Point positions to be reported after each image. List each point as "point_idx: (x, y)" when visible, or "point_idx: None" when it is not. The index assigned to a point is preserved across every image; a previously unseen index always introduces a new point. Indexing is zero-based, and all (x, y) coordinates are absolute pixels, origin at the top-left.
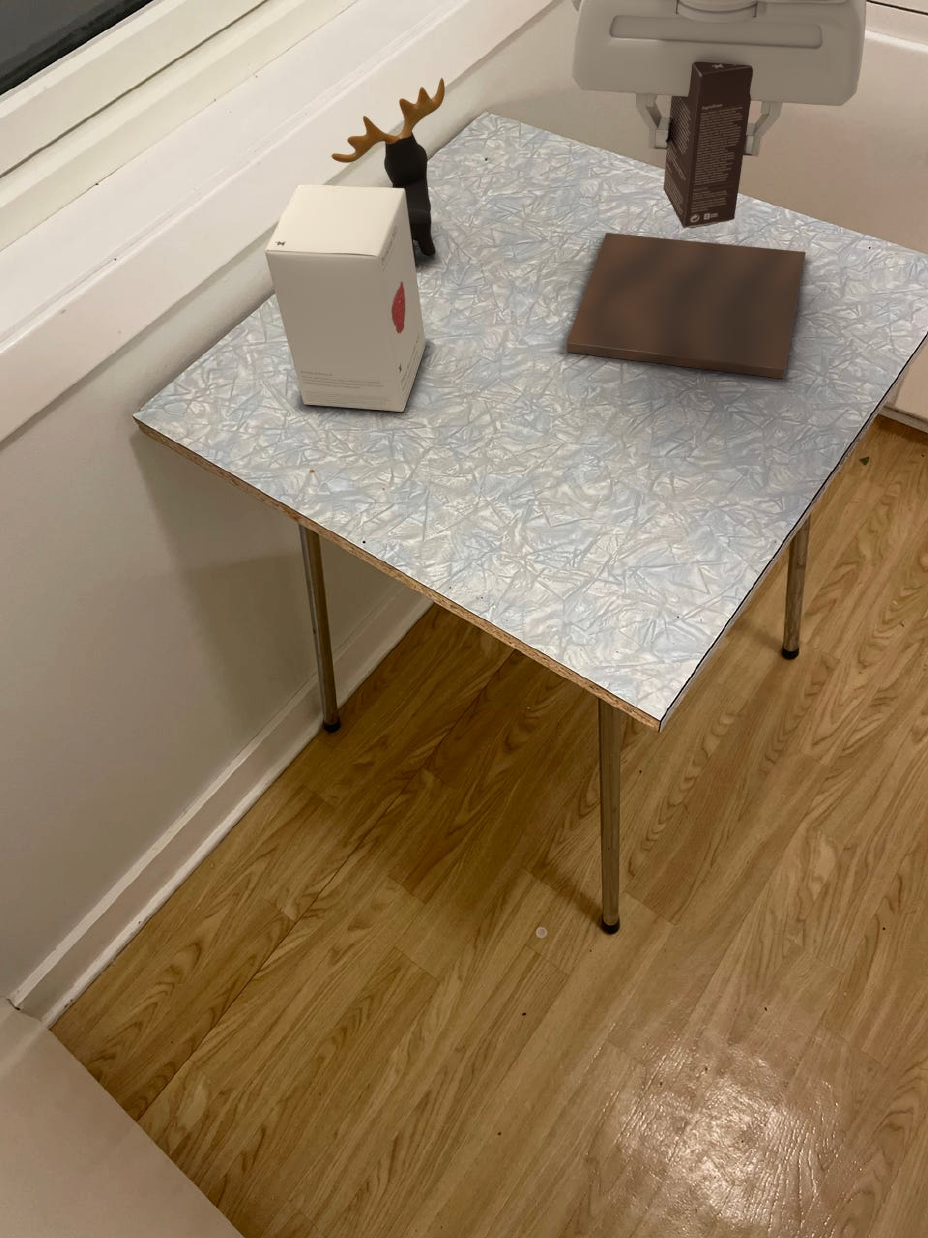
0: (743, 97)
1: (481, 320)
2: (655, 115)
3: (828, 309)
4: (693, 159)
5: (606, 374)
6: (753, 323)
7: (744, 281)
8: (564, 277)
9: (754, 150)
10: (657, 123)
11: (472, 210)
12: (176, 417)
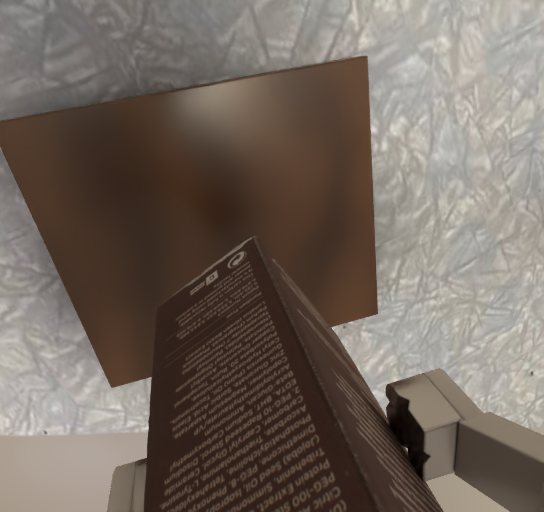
0: None
1: (493, 85)
2: (488, 462)
3: (27, 306)
4: (296, 348)
5: (282, 22)
6: (104, 218)
7: (162, 300)
8: (404, 221)
9: (126, 478)
10: (466, 438)
11: (535, 292)
12: None
